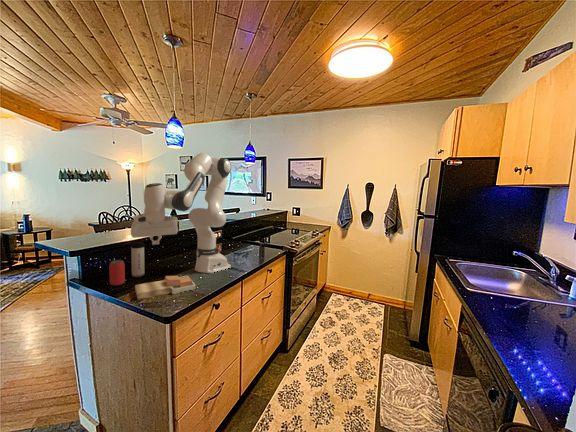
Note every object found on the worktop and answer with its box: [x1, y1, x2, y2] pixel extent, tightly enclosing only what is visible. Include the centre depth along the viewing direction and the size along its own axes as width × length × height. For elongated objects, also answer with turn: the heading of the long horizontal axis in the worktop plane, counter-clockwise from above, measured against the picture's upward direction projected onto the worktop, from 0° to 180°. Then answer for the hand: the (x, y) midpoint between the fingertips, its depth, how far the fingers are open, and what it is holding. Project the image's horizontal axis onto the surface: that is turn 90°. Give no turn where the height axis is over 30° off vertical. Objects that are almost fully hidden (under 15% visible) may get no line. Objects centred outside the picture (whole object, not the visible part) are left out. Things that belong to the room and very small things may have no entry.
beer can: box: [108, 259, 126, 286], centre depth 127 cm, size 7×7×12 cm
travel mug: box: [130, 240, 145, 278], centre depth 139 cm, size 6×7×20 cm
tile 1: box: [164, 275, 181, 286], centre depth 125 cm, size 6×6×3 cm
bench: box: [134, 279, 172, 301], centre depth 120 cm, size 14×11×3 cm
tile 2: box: [178, 276, 193, 288], centre depth 128 cm, size 6×6×3 cm
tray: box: [170, 275, 197, 295], centre depth 128 cm, size 11×15×2 cm
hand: (155, 244), depth 120 cm, fingers closed
